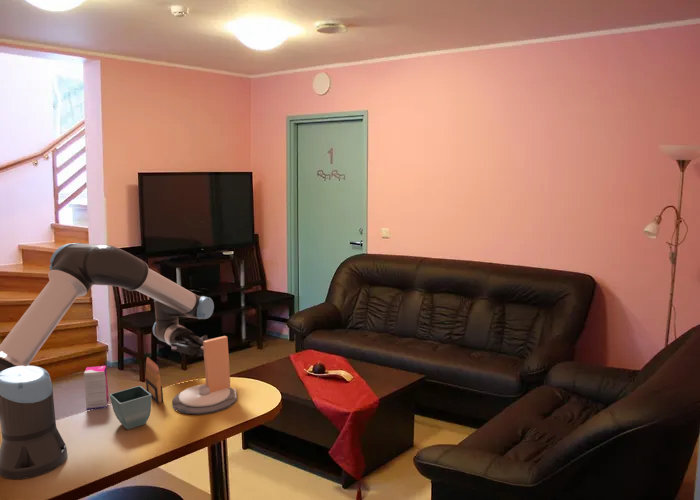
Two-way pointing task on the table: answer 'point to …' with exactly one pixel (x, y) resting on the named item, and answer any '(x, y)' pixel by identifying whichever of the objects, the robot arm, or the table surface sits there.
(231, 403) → the base
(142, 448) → the table surface
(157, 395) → the ammunition clip
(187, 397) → the dial
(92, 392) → the supplement box
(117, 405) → the flower pot
